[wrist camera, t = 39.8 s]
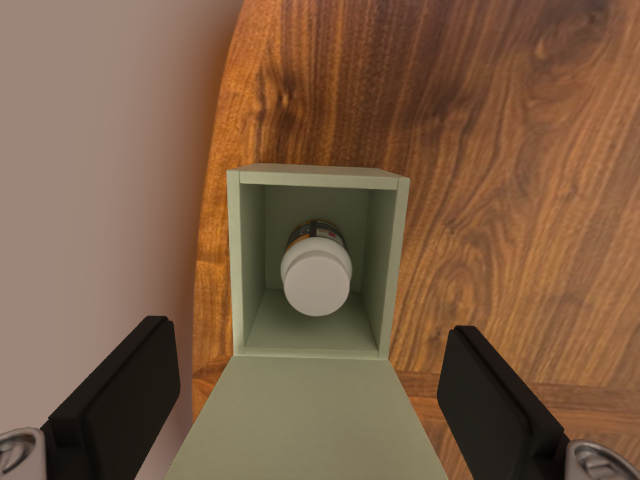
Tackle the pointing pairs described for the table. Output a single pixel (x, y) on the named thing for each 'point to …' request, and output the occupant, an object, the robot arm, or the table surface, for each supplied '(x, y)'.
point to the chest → (270, 243)
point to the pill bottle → (316, 268)
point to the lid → (307, 424)
